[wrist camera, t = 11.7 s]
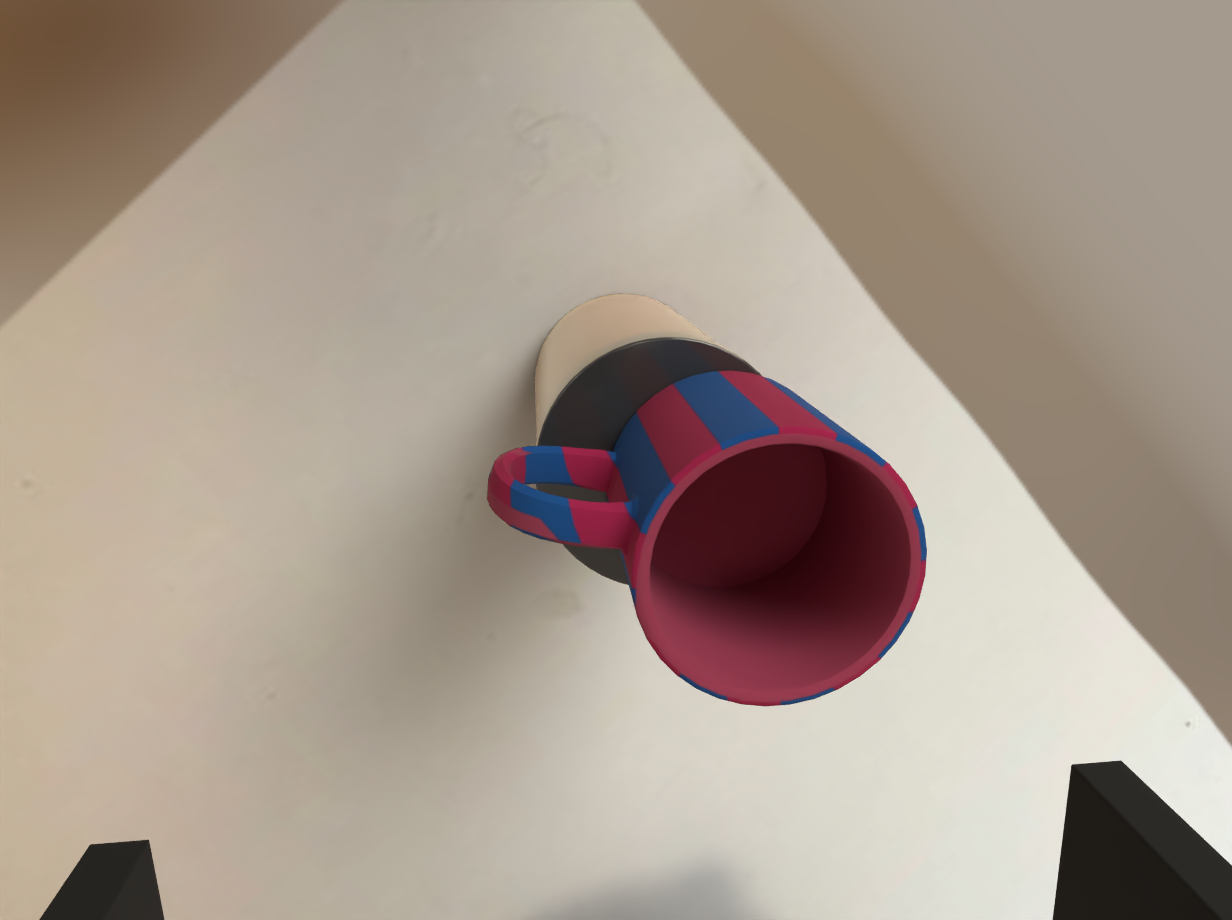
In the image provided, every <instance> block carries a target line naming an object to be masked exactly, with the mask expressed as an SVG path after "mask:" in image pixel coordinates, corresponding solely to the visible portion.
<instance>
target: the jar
mask: <svg viewBox="0 0 1232 920" xmlns="http://www.w3.org/2000/svg"><path fill="white" fill-rule="evenodd" d="M711 371H740V372H747V373H753V374H756V375H760V376H762V375H761V374H760V373H759V372H758V371H757V370H755V369H754V368H753V367H752V366H751V365H750V364H748V363H747V362H746V361H745V360H743V359H742V358H741V357H739V356H738V355H736V354H735V353H733V352H732V351H730V350H729V349H727V348H726V347H724V346H722V345H720V344H717V343H716V342H714V341H713V340H712V339H711V338H709V337H708V336H707V335H705V334H704V333H703V332H702V331H700V330H699V329H698V328H696V327H695V326H694V325H693V324H691V323H690V322H689V321H687V320H686V319H685V318H684V317H682V316H681V315H680V314H678V313H677V312H676V311H675V310H673V309H671V308H670V307H668V306H667V305H665V304H663V303H661V302H659V301H657V300H655V299H652V298H648V297H645V296H641V295H635V294H612V295H606V296H602V297H597V298H595V299H592V300H589V301H587V302H585V303H583V304H581V305H579V306H577V307H576V308H574V309H573V310H572V311H570V312H569V313H567V314H566V315H565V316H564V317H563V318H562V319H561V320H560V321H559V322H558V323H557V324H556V325H555V327H554V328H553V329H552V330H551V332H550V333H549V335H548V337H547V338H546V340H545V342H544V344H543V346H542V348H541V351H540V354H539V357H538V360H537V365H536V371H535V401H536V426H537V438H536V444H535V446H561V447H572V448H584V449H598V450H605V451H611V452H613V450H614V447H615V444H616V442H617V440H618V438H619V436H620V435H621V433H622V431H623V429H624V427H625V425H626V424H627V423H628V421H629V420H630V419H631V418H632V416H633V415H634V414H635V413H636V411H637V410H638V409H639V408H640V407H641V406H642V405H643V404H645V403H646V402H647V401H648V400H649V399H650V398H651V397H652V396H654V395H655V394H656V393H658V392H660V391H661V390H663V389H664V388H666V387H668V386H669V385H671V384H673V383H675V382H678V381H680V380H682V379H685V378H687V377H690V376H693V375H698V374H702V373H707V372H711ZM536 487H537V490H539V491H542V492H545V493H548V494H551V495H555V496H559V497H564V498H568V499H574V500H580V501H587V502H604V503H608V501H607V494H606V492H601V491H596V490H591V489H586V488H581V487H575V486H570V485H560V484H536ZM563 546H564V547H565V548H566V549H567V550H568V551H569V552H570V553H571V554H572V555H573V556H574V557H575V558H576V559H578V560H579V561H580V562H582V563H583V564H584V565H586V566H587V567H588V568H590V569H591V570H593V571H595V572H597V573H599V574H600V575H602V576H604V577H607V578H609V579H612V580H614V581H617V582H619V583H623V584H627V585H629V583H628V579H627V576H626V572H625V568H624V564H623V560H622V557H621V553H620V549H606V548H590V547H580V546H573V545H567V544H563Z"/></svg>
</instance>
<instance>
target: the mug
mask: <svg viewBox="0 0 1232 920" xmlns="http://www.w3.org/2000/svg"><path fill="white" fill-rule="evenodd" d="M525 484H560V485H570V486H575V487H581V488H586V489H591V490H596V491H601V492H606V494H607V501H608V503H604V502H587V501H580V500H574V499H568V498H564V497H559V496H555V495H551V494H548V493H545V492H542V491H539V490H536V489H533V488H531V487H529V486H527V485H525ZM487 500H488V503H489V506H490V507H491V509H492V510H493V511H494V512H495V514H496V515H498V516H499V517H500V518H501V519H502V520H503V521H505V522H506V523H507V524H508V525H509V526H511V527H513V528H515V529H517V530H519V531H520V532H522V533H525V534H528V535H531V536H534V537H536V538H539V539H543V540H548V541H552V542H556V543H561V544H567V545H573V546H580V547H590V548H606V549H620V553H621V557H622V560H623V564H624V568H625V572H626V576H627V579H628V583H629V587H630V591H631V595H632V598H633V602H634V606H635V610H636V614H637V617H638V620H639V622H640V624H641V627H642V629H643V631H644V634H645V636H646V638H647V640H648V642H649V643H650V644H651V646H652V647H653V649H654V650H655V652H656V653H657V655H658V656H659V658H660V659H661V660H662V661H663V662H664V663H665V664H666V665H667V666H668V667H669V668H670V669H671V670H672V671H673V672H674V673H675V674H676V675H677V676H679V677H680V678H682V679H683V680H685V681H686V682H687V683H689V684H690V685H692V686H693V687H695V688H696V689H699V690H701V691H703V692H705V693H707V694H710V695H712V696H714V697H716V698H719V699H723V700H727V701H731V702H735V703H739V704H745V705H757V706H775V705H789V704H794V703H798V702H803V701H807V700H811V699H815V698H818V697H820V696H823V695H825V694H828V693H830V692H832V691H835V690H837V689H839V688H841V687H843V686H844V685H846V684H848V683H849V682H851V681H853V680H855V679H856V678H858V677H860V676H861V675H862V674H863V673H865V672H866V671H867V670H868V669H869V668H871V667H872V666H873V665H874V664H876V663H877V662H878V661H879V660H880V659H881V658H882V657H883V656H884V655H885V654H886V652H887V651H888V650H889V649H890V648H891V647H892V646H893V645H894V644H895V642H896V641H897V639H898V638H899V636H900V635H901V633H902V632H903V630H904V629H905V627H906V626H907V624H908V623H909V621H910V619H911V616H912V614H913V612H914V610H915V607H916V605H917V603H918V600H919V598H920V594H921V590H922V586H923V582H924V578H925V570H926V555H927V548H926V540H925V531H924V525H923V522H922V519H921V516H920V513H919V510H918V506H917V504H916V502H915V500H914V498H913V496H912V495H911V493H910V491H909V489H908V487H907V485H906V484H905V482H904V481H903V480H902V479H901V477H900V476H899V475H898V474H897V473H896V471H895V470H894V469H893V468H892V467H891V465H890V464H888V463H887V462H886V461H885V460H884V459H882V458H881V457H880V456H879V455H877V454H876V453H875V452H874V451H872V450H871V449H870V448H869V447H867V446H866V445H864V444H863V443H862V442H860V441H859V440H858V439H856V438H855V437H854V436H852V435H851V434H850V433H848V432H847V431H845V430H844V429H843V428H841V427H840V426H839V425H837V424H836V423H835V422H833V421H832V420H830V419H829V418H828V417H826V416H825V415H824V414H822V413H821V412H820V411H818V410H817V409H816V408H814V407H813V406H811V405H810V404H809V403H807V402H806V401H805V400H803V399H802V398H801V397H799V396H798V395H797V394H795V393H794V392H792V391H791V390H790V389H788V388H786V387H785V386H783V385H781V384H779V383H777V382H775V381H773V380H772V379H769V378H766V377H763V376H760V375H756V374H753V373H747V372H740V371H711V372H707V373H702V374H698V375H693V376H690V377H687V378H685V379H682V380H680V381H678V382H675V383H673V384H671V385H669V386H668V387H666V388H664V389H663V390H661V391H660V392H658V393H656V394H655V395H654V396H652V397H651V398H650V399H649V400H648V401H647V402H646V403H645V404H643V405H642V406H641V407H640V408H639V409H638V410H637V411H636V413H635V414H634V415H633V416H632V418H631V419H630V420H629V421H628V423H627V424H626V425H625V427H624V429H623V431H622V433H621V435H620V436H619V438H618V440H617V442H616V444H615V447H614V450H613V452H611V451H605V450H598V449H584V448H572V447H561V446H528V447H522V448H516V449H513V450H511V451H508V452H506V453H504V454H502V455H500V456H499V457H498V458H497V459H496V460H495V462H494V465H493V467H492V470H491V472H490V475H489V479H488V492H487Z"/></svg>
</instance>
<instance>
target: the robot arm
mask: <svg viewBox="0 0 1232 920" xmlns="http://www.w3.org/2000/svg"><path fill="white" fill-rule="evenodd" d="M40 920H164V915H163V910H162V905H161V900H160V895H159V890H158V884H157V879H156V874H155V869H154V864H153V859H152V853H151V848H150V843H149V840H141V841H129V842H116V843H104V844H92V845H90V846H89V847H88V849H87V850H86V852H85V853H84V855H83V856H82V858H81V859H80V861H79V862H78V864H77V865H76V866H75V868H74V869H73V871H72V872H71V874H70V875H69V877H68V878H67V880H66V881H65V883H64V884H63V886H62V887H61V889H60V890H59V892H58V893H57V895H56V896H55V898H54V899H53V901H52V902H51V904H50V905H49V906H48V908H47V909H46V911H45V912H44V914H43V915H42V917H41V918H40ZM1053 920H1232V865H1231V864H1229V863H1228V862H1227V861H1226V860H1225V859H1224V858H1223V857H1222V856H1221V855H1220V854H1219V853H1218V852H1217V851H1216V850H1215V849H1214V848H1213V847H1212V846H1210V845H1209V844H1208V843H1207V842H1206V841H1205V840H1204V839H1203V838H1202V837H1201V836H1200V835H1199V834H1198V833H1197V832H1196V831H1195V830H1194V829H1193V828H1192V827H1190V826H1189V825H1188V824H1187V823H1186V822H1185V821H1184V820H1183V819H1182V818H1181V817H1180V816H1179V815H1178V814H1177V813H1176V812H1175V811H1174V810H1173V809H1171V808H1170V807H1169V806H1168V805H1167V804H1166V803H1165V802H1164V801H1163V800H1162V799H1161V798H1160V797H1159V796H1158V795H1157V794H1156V793H1155V792H1154V791H1153V790H1151V789H1150V788H1149V787H1148V786H1147V785H1146V784H1145V783H1144V782H1143V781H1142V780H1141V779H1140V778H1139V777H1138V776H1137V775H1136V774H1135V773H1134V772H1132V771H1131V770H1130V769H1129V768H1128V767H1127V766H1126V765H1125V764H1124V763H1123V762H1122V761H1111V762H1099V763H1087V764H1074V765H1072V766H1071V774H1070V782H1069V790H1068V799H1067V807H1066V815H1065V823H1064V831H1063V840H1062V848H1061V856H1060V864H1059V872H1058V881H1057V889H1056V897H1055V905H1054V914H1053Z"/></svg>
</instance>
